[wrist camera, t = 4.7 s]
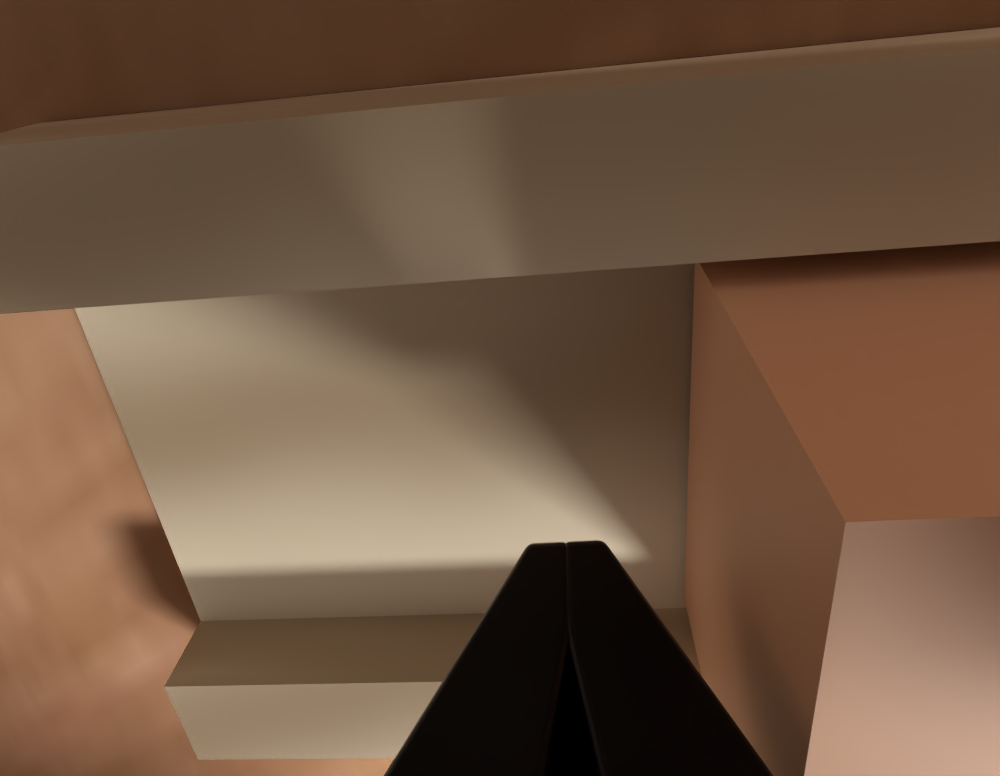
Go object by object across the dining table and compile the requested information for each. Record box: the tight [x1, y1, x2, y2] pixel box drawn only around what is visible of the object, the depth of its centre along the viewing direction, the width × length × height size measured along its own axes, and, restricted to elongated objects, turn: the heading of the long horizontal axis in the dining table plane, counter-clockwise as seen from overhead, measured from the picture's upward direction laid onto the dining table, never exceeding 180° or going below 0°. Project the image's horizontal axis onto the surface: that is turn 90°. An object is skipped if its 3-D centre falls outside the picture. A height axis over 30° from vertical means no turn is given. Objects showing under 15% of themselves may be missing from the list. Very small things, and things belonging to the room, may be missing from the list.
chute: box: [0, 27, 1000, 760], centre depth 9 cm, size 9×17×2 cm, turn 96°
